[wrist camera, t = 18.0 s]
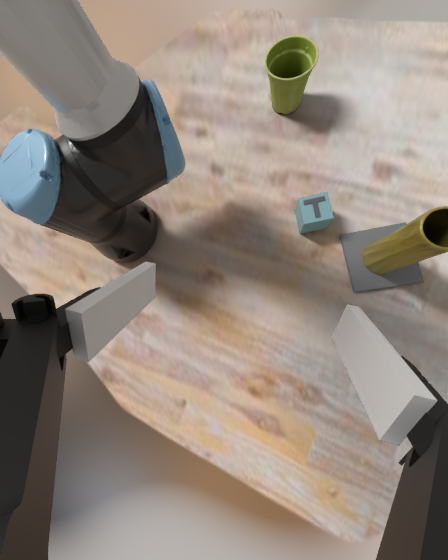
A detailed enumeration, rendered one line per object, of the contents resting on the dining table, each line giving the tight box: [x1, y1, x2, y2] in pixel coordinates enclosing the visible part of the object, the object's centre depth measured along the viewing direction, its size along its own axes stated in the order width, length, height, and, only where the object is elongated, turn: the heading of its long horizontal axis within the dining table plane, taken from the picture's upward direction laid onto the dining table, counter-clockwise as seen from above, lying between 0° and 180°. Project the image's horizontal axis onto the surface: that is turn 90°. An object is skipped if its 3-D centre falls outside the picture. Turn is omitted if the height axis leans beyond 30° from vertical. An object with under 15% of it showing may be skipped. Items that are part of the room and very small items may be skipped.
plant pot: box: [265, 35, 318, 114], centre depth 42 cm, size 9×9×9 cm
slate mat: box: [340, 223, 424, 292], centre depth 38 cm, size 11×11×1 cm
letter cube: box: [295, 192, 334, 234], centre depth 39 cm, size 5×5×5 cm
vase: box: [362, 206, 448, 274], centre depth 31 cm, size 6×6×14 cm
